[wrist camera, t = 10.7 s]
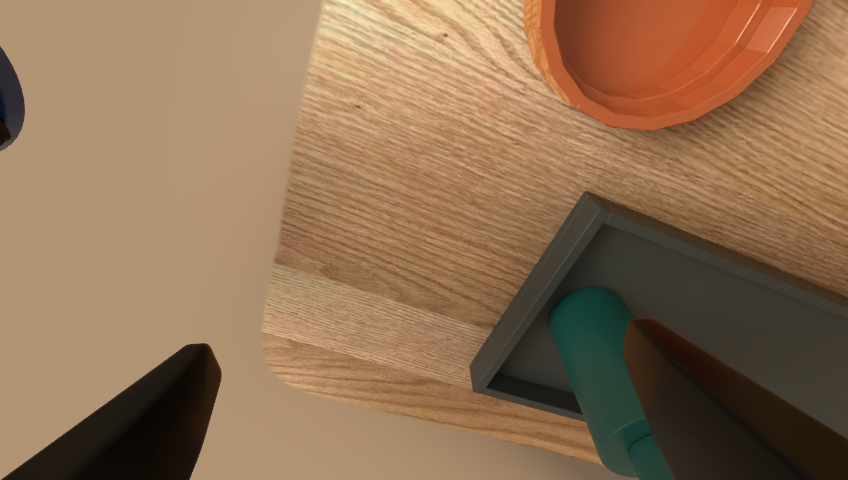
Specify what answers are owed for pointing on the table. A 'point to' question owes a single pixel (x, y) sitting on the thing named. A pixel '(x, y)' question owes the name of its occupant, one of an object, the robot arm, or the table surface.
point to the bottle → (605, 381)
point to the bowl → (656, 53)
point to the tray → (672, 313)
